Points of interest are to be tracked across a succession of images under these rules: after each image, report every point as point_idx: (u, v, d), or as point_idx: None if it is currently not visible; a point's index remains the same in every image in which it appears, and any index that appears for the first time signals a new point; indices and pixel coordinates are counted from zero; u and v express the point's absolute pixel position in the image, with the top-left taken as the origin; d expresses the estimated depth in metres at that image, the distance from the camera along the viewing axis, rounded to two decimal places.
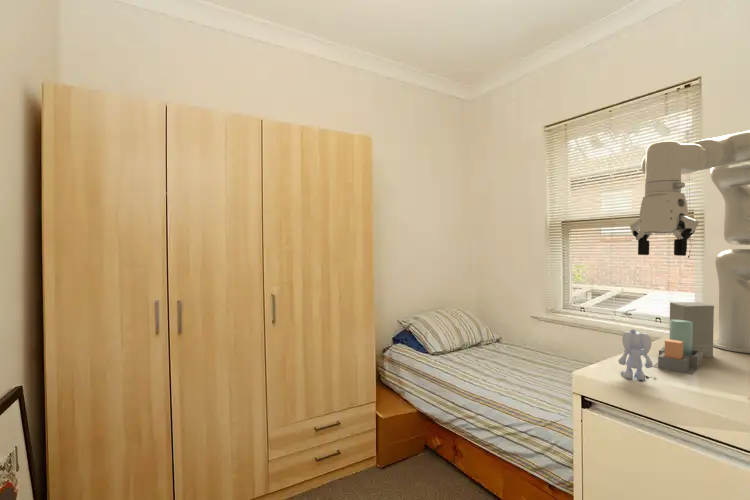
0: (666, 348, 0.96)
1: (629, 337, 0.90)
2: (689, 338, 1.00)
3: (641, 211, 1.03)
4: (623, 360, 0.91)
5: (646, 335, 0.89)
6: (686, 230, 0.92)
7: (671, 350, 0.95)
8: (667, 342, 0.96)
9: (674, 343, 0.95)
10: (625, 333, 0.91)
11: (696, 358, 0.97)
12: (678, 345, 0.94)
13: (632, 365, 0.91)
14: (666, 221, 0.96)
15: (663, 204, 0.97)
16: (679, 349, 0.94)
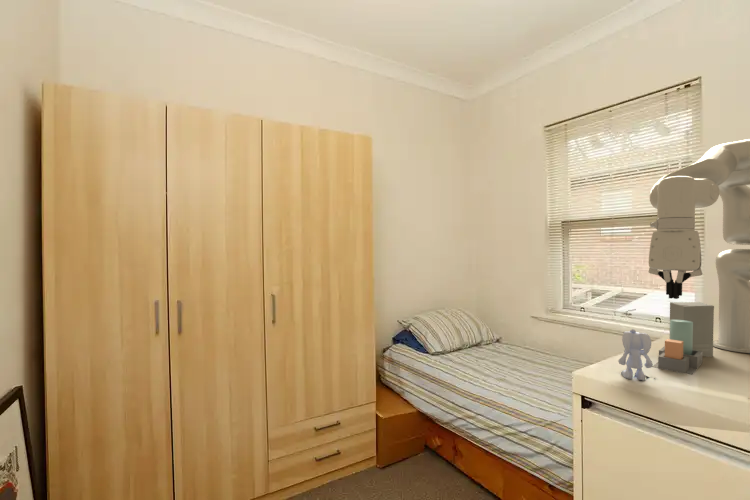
0: (666, 348, 0.96)
1: (629, 337, 0.90)
2: (689, 338, 1.00)
3: None
4: (623, 360, 0.91)
5: (646, 335, 0.89)
6: None
7: (671, 350, 0.95)
8: (667, 342, 0.96)
9: (674, 343, 0.95)
10: (625, 333, 0.91)
11: (696, 358, 0.97)
12: (678, 345, 0.94)
13: (632, 365, 0.91)
14: None
15: None
16: (679, 349, 0.94)
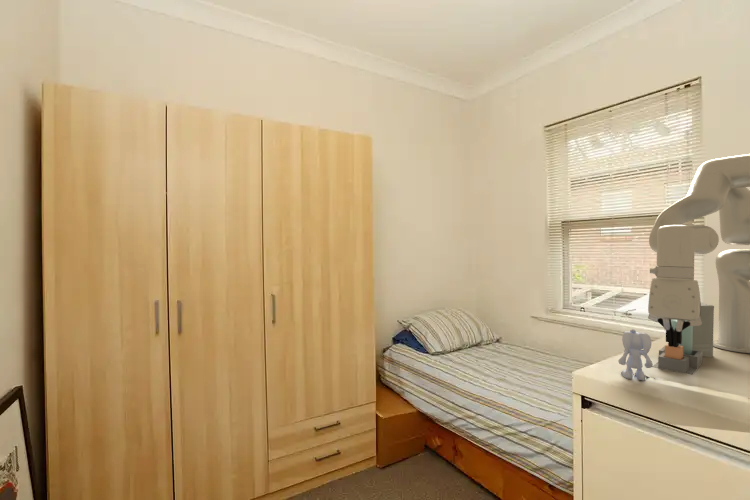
0: (666, 353, 0.96)
1: (629, 337, 0.90)
2: (689, 338, 1.00)
3: None
4: (623, 360, 0.91)
5: (646, 335, 0.89)
6: None
7: (671, 355, 0.95)
8: (667, 347, 0.96)
9: (674, 348, 0.95)
10: (625, 333, 0.91)
11: (696, 358, 0.97)
12: (678, 350, 0.94)
13: (632, 365, 0.91)
14: None
15: None
16: (679, 354, 0.94)
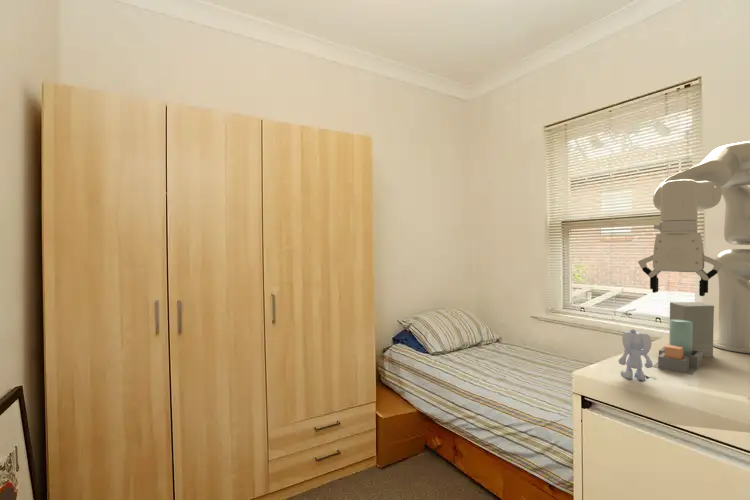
0: (666, 354, 0.96)
1: (629, 337, 0.90)
2: (689, 338, 1.00)
3: None
4: (623, 360, 0.91)
5: (646, 335, 0.89)
6: None
7: (671, 356, 0.95)
8: (667, 348, 0.96)
9: (674, 349, 0.95)
10: (625, 333, 0.91)
11: (696, 358, 0.97)
12: (678, 351, 0.94)
13: (632, 365, 0.91)
14: None
15: None
16: (679, 355, 0.94)
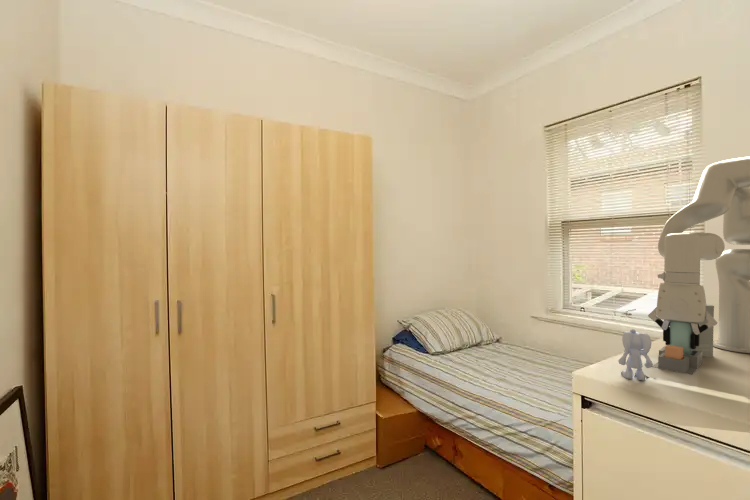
0: (666, 354, 0.96)
1: (629, 337, 0.90)
2: (689, 338, 1.00)
3: None
4: (623, 360, 0.91)
5: (646, 335, 0.89)
6: None
7: (671, 356, 0.95)
8: (667, 348, 0.96)
9: (674, 349, 0.95)
10: (625, 333, 0.91)
11: (696, 358, 0.97)
12: (678, 351, 0.94)
13: (632, 365, 0.91)
14: None
15: None
16: (679, 355, 0.94)
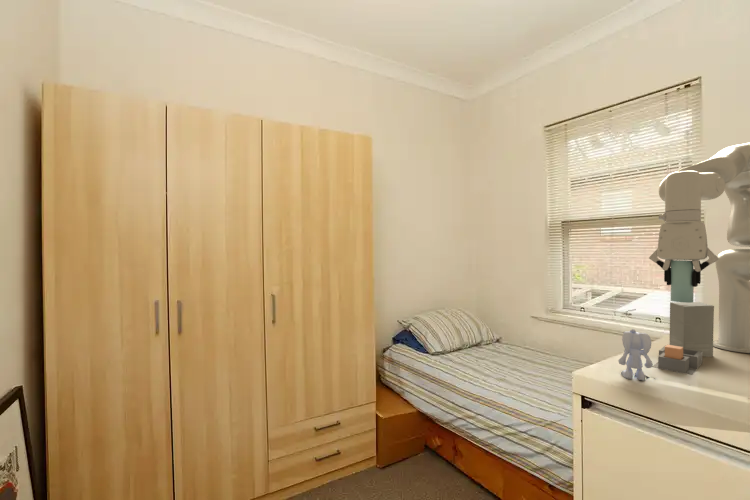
0: (666, 354, 0.96)
1: (629, 337, 0.90)
2: (691, 276, 1.00)
3: None
4: (623, 360, 0.91)
5: (646, 335, 0.89)
6: None
7: (671, 356, 0.95)
8: (667, 348, 0.96)
9: (674, 349, 0.95)
10: (625, 333, 0.91)
11: (696, 358, 0.97)
12: (678, 351, 0.94)
13: (632, 365, 0.91)
14: None
15: None
16: (679, 355, 0.94)
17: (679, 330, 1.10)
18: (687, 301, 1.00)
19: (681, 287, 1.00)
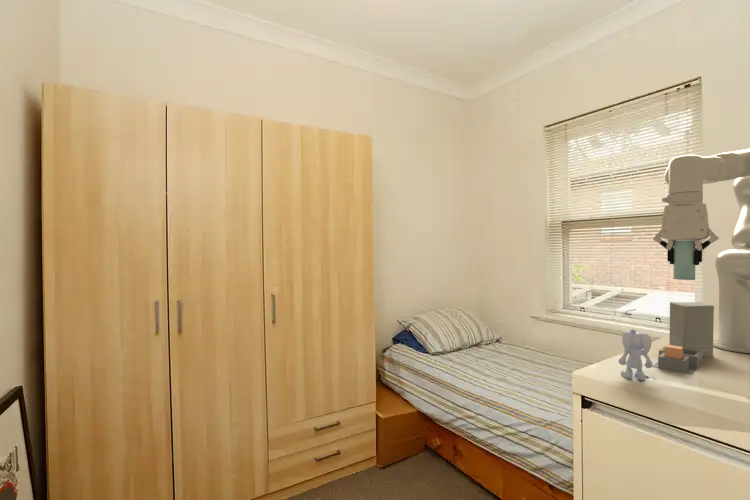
0: (666, 354, 0.96)
1: (629, 337, 0.90)
2: (693, 254, 1.05)
3: None
4: (623, 360, 0.91)
5: (646, 335, 0.89)
6: None
7: (671, 356, 0.95)
8: (667, 348, 0.96)
9: (674, 349, 0.95)
10: (625, 333, 0.91)
11: (696, 358, 0.97)
12: (678, 351, 0.94)
13: (632, 365, 0.91)
14: None
15: None
16: (679, 355, 0.94)
17: (679, 330, 1.10)
18: (689, 278, 1.05)
19: (684, 265, 1.06)
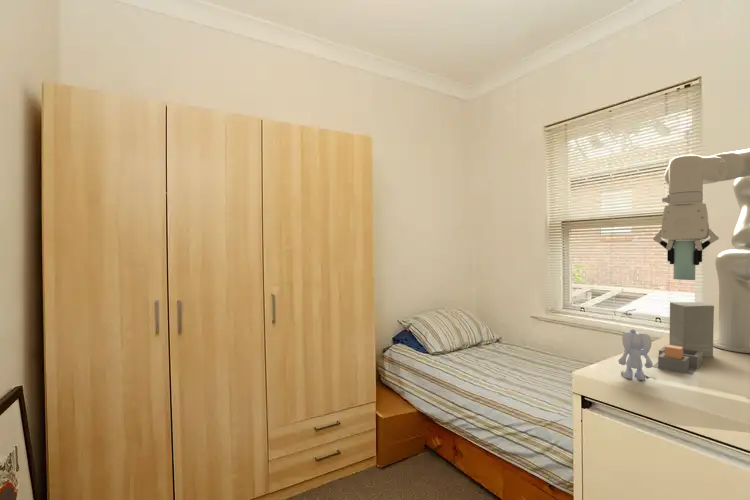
0: (666, 354, 0.96)
1: (629, 337, 0.90)
2: (693, 254, 1.05)
3: None
4: (623, 360, 0.91)
5: (646, 335, 0.89)
6: None
7: (671, 356, 0.95)
8: (667, 348, 0.96)
9: (674, 349, 0.95)
10: (625, 333, 0.91)
11: (696, 358, 0.97)
12: (678, 351, 0.94)
13: (632, 365, 0.91)
14: None
15: None
16: (679, 355, 0.94)
17: (679, 330, 1.10)
18: (689, 278, 1.05)
19: (684, 265, 1.06)
